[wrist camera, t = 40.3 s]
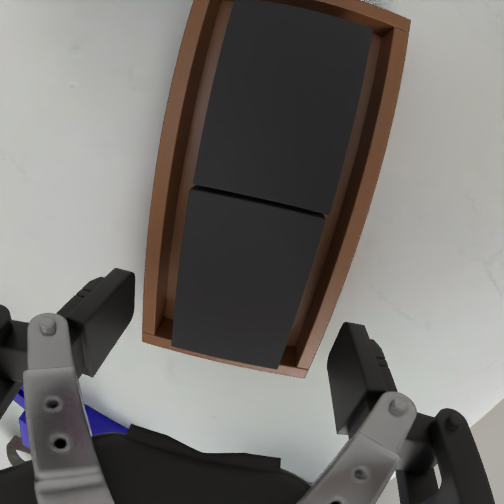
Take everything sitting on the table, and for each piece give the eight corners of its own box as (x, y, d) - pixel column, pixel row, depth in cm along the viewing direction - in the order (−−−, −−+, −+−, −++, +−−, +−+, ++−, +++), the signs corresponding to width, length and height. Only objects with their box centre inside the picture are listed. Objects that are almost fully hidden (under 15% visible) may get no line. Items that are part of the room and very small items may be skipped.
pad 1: (244, 26, 13) (234, -4, 9) (351, 51, 13) (373, 28, 9) (212, 172, 16) (192, 184, 12) (316, 195, 16) (329, 215, 12)
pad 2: (209, 175, 16) (189, 188, 12) (314, 198, 16) (326, 218, 12) (189, 306, 19) (170, 346, 15) (277, 325, 19) (277, 370, 15)
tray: (212, -9, 12) (202, -28, 10) (394, 32, 12) (411, 20, 10) (154, 319, 20) (141, 341, 18) (302, 353, 20) (304, 378, 18)
